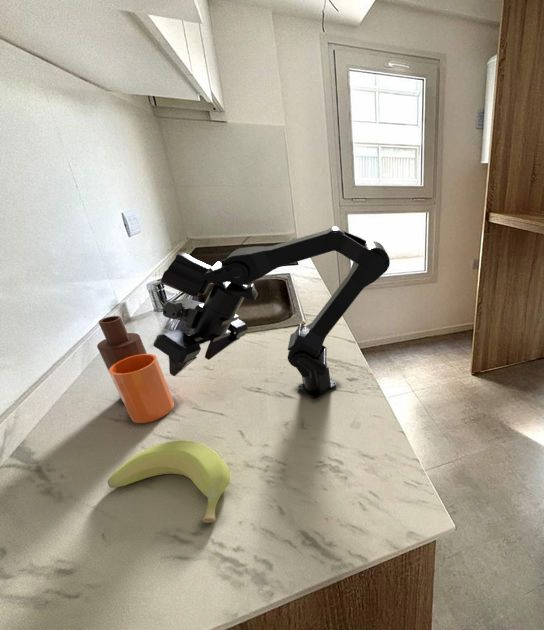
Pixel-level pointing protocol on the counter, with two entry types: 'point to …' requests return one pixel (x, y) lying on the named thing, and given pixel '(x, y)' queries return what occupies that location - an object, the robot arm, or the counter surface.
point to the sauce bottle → (118, 341)
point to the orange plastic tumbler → (142, 387)
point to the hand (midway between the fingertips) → (190, 366)
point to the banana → (179, 469)
